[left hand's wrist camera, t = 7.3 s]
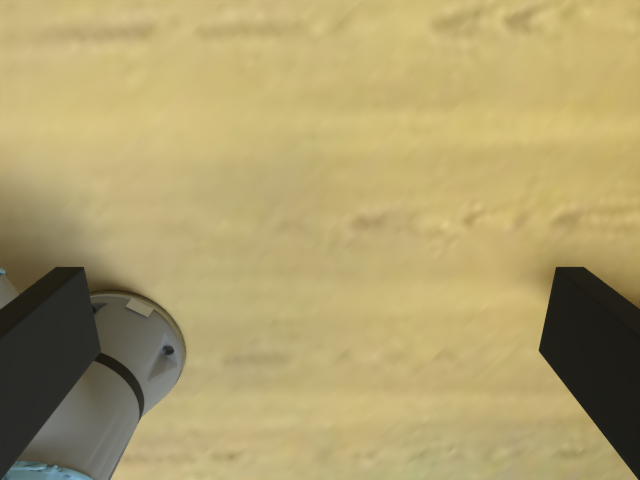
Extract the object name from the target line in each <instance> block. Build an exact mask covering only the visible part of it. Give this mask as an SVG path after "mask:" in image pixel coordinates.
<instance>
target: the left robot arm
mask: <svg viewBox="0 0 640 480" xmlns="http://www.w3.org/2000/svg"><path fill="white" fill-rule="evenodd" d="M5 274H6V271H5V270H4V269H3V268H1V267H0V480H110V479H111V477H112V475H113V473H114V471H115V469H116V467H117V465H118V463H119V461H120V459H121V457H122V455H123V453H124V451H125V449H126V447H127V445H128V443H129V441H130V439H131V437H132V435H133V433H134V431H135V429H136V427H137V424H138V423H139V421H140V419H141V417H142V416H143V415H144V414H146V413H147V412H148V411H149V410H150V409H151V408H152V407H154V406H155V405H156V404H157V403H158V402H159V401H160V400H162V399H163V398H164V397H165V396H166V395H167V394H168V393H169V392H170V391H171V389H172V388H173V387H174V385H175V384H176V382H177V381H178V379H179V377H180V374H181V372H182V370H183V368H184V364H185V359H186V347H185V342H184V339H183V336H182V333H181V331H180V329H179V328H178V326H177V324H176V323H175V321H174V320H173V319H172V318H171V317H170V315H169V314H168V313H167V312H165V311H164V310H163V309H162V308H161V307H159V306H158V305H157V304H155V303H153V302H152V301H150V300H148V299H146V298H144V297H142V296H139V295H136V294H133V293H130V292H125V291H117V290H103V291H96V292H92V293H89V289H88V285H87V280H86V275H85V270H84V267H56V268H54V269H53V270H52V271H50V272H49V273H48V274H46V275H45V276H44V277H42V278H41V279H40V280H38V281H37V282H36V283H34V284H33V285H32V286H30V287H29V288H28V289H27V290H25V291H24V292H23V293H21V294H19V293H18V291H17V290H16V289H15V287H14V286H13V285H12V283H11V282H10V281H9V279H8V278H7V276H6V275H5ZM539 352H540V353H541V354H542V356H543V357H544V358H545V360H546V361H547V362H548V363H549V365H550V366H551V367H552V369H553V370H554V371H555V373H556V374H557V375H558V376H559V378H560V379H561V380H562V382H563V383H564V384H565V385H566V387H567V388H568V389H569V391H570V392H571V393H572V394H573V396H574V397H575V398H576V400H577V401H578V402H579V404H580V405H581V406H582V407H583V409H584V410H585V411H586V413H587V414H588V415H589V416H590V418H591V419H592V420H593V422H594V423H595V424H596V425H597V427H598V428H599V429H600V431H601V432H602V433H603V435H604V436H605V437H606V438H607V440H608V441H609V442H610V444H611V445H612V446H613V447H614V449H615V450H616V451H617V453H618V454H619V455H620V457H621V458H622V459H623V460H624V462H625V463H626V464H627V466H628V467H629V468H630V469H631V471H632V472H633V473H634V475H635V476H636V477H637V478H638V480H640V309H639V308H637V307H636V306H635V305H633V304H632V303H631V302H629V301H628V300H627V299H625V298H624V297H623V296H621V295H620V294H619V293H617V292H616V291H615V290H613V289H612V288H611V287H610V286H608V285H607V284H606V283H604V282H603V281H602V280H600V279H599V278H598V277H596V276H595V275H594V274H592V273H591V272H590V271H588V270H587V269H586V268H584V267H556V270H555V275H554V280H553V285H552V289H551V294H550V299H549V304H548V308H547V313H546V318H545V323H544V328H543V332H542V337H541V342H540V347H539Z"/></svg>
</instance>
